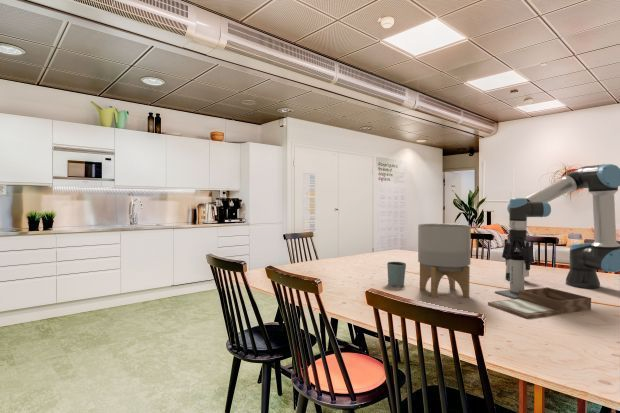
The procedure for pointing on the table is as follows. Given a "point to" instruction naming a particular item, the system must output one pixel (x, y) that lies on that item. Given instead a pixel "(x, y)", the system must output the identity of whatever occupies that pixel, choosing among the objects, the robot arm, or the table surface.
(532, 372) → the table surface
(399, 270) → the blue-grey cup
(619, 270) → the robot arm
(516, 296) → the potting mat
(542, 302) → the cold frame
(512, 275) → the travel mug
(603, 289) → the table surface
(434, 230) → the planter
